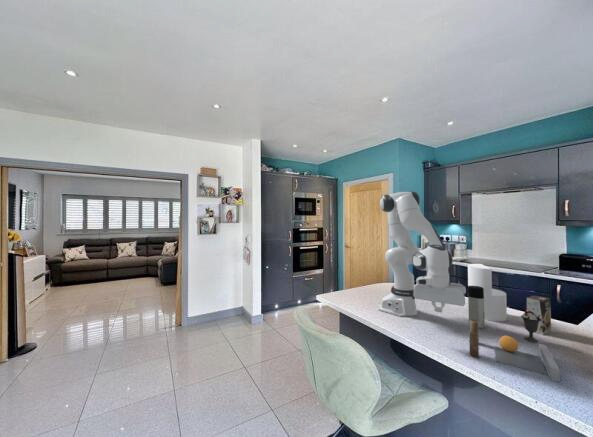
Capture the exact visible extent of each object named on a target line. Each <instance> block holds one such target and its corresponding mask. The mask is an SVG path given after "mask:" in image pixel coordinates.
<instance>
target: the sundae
mask: <svg viewBox="0 0 593 437" xmlns="http://www.w3.org/2000/svg"><path fill="white" fill-rule="evenodd" d="M523 307H524V308H525V310H524V313H523V314H522V315H520V318H522V320H523V324H524V325H523V326H524V329H525V331H528V334H529V335H528V336H525V337H523V339H524V340H525V341H527V342H530V343H538V344H539V340H538V339H536V338H534V334H535V333H536V331H537V329H538V323H539V321H541V319H540V318H539V317H540V315H539V316H538V317H537V316H536V314H535V313H533V312H531V311H527V305H526V306H523Z"/></svg>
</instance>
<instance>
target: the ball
mask: <svg viewBox="0 0 593 437" xmlns="http://www.w3.org/2000/svg"><path fill="white" fill-rule="evenodd" d="M498 343H499V345H500V347H501V348H503V349H504V350H506V351H509V352H514V351H518V348H519V344H518V341H517V340H516V339H515V338H513V337H512V336H509V335H503V336H502V335H501V337H500V338H499V342H498Z"/></svg>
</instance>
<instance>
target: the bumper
mask: <svg viewBox="0 0 593 437" xmlns="http://www.w3.org/2000/svg"><path fill="white" fill-rule="evenodd" d="M538 354H539V355H538V356H539V358H540V360H541V362H542V364H543V366H544V368H545V370H546V372H547V375H549V377H550V379H551V380H552V381H555V382H559V383H560V382H561V379H560V378H561V373H560V372H561V370H560V369H559V366H558V364H557V362H556V361H555V359H554V357H553V356H552V354H551V352H550V351H549V349H548V347H547V345H546V344H541V343H538Z"/></svg>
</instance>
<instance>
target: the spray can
mask: <svg viewBox="0 0 593 437" xmlns="http://www.w3.org/2000/svg"><path fill="white" fill-rule="evenodd" d="M467 296H468V298H467V299H468V300H467V301H468V302H467V304H468V305H467V307H468V324H469V326H470V321H476V322H478V329H479V328H480V329H483V328H485V324H486V323H485V320H484V288H482V287H480V286H468V285H467Z"/></svg>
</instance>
